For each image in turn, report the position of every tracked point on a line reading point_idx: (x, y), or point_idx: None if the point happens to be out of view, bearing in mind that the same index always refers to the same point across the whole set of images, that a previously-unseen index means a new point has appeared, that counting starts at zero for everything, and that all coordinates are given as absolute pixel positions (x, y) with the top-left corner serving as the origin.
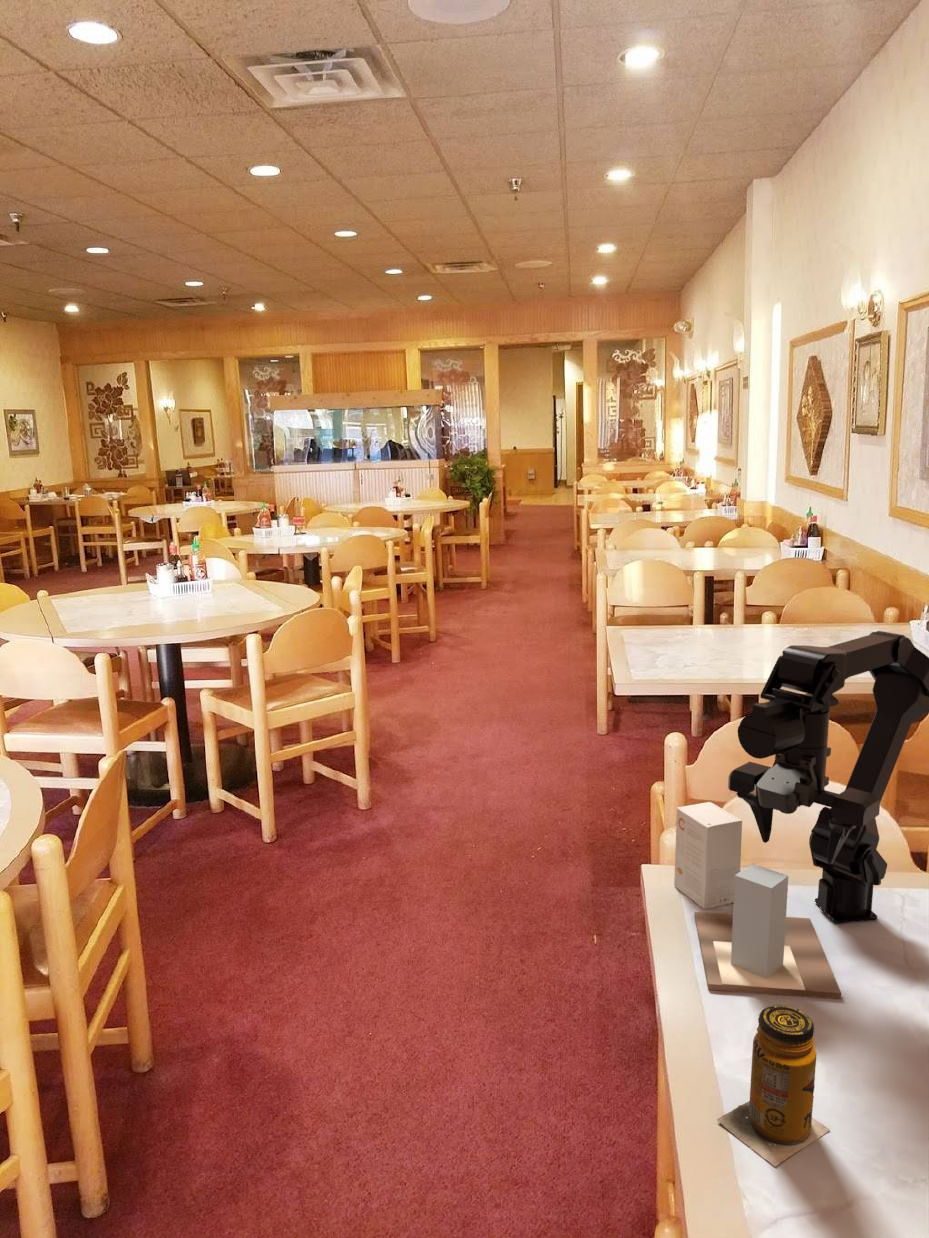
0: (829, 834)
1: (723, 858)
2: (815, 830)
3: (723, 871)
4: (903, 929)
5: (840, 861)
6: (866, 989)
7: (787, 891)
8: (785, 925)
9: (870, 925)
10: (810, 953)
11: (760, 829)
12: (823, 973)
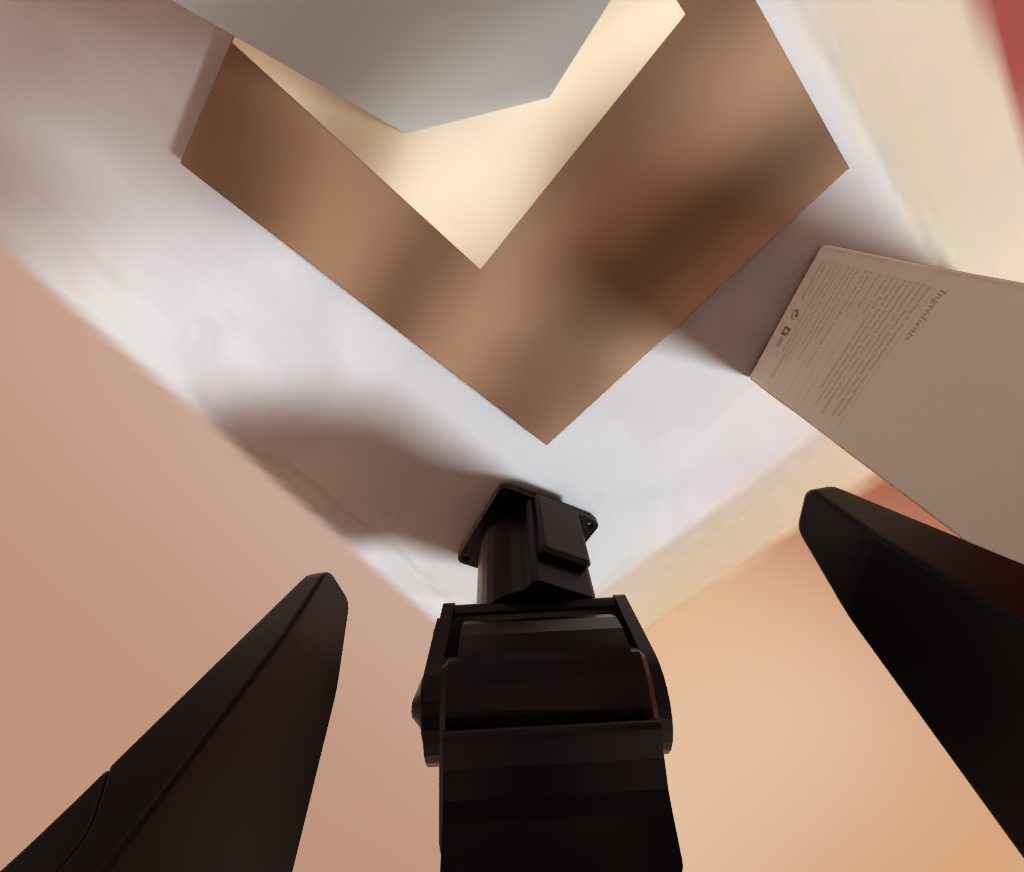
0: (572, 747)
1: (931, 380)
2: (644, 736)
3: (874, 357)
4: (406, 563)
5: (498, 642)
6: (221, 287)
7: (257, 47)
8: (361, 108)
9: (454, 530)
10: (415, 290)
11: (958, 549)
12: (305, 220)
